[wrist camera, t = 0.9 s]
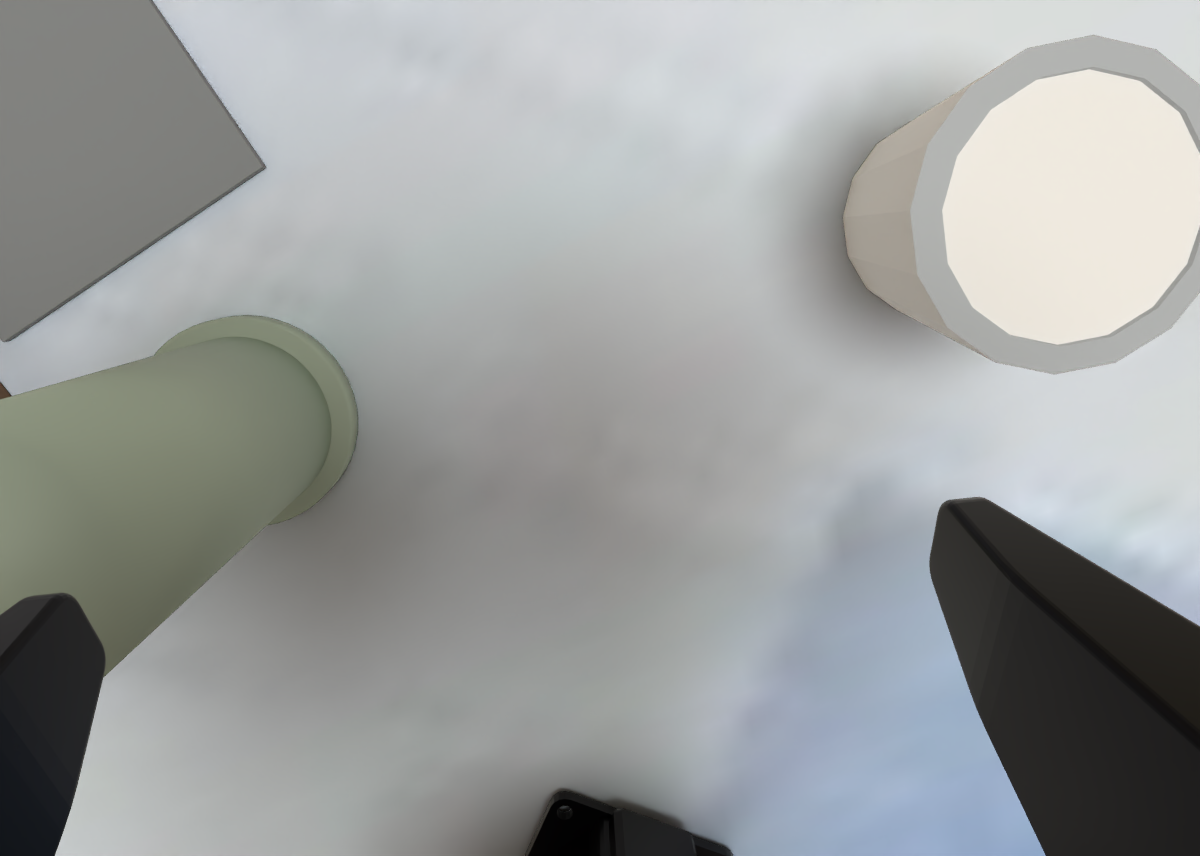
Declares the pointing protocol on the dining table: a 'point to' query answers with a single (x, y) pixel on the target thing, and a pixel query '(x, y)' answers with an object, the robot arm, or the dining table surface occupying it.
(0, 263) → the slate pad
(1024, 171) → the off-white cylinder
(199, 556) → the sage green knob
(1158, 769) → the robot arm
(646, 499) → the dining table surface
